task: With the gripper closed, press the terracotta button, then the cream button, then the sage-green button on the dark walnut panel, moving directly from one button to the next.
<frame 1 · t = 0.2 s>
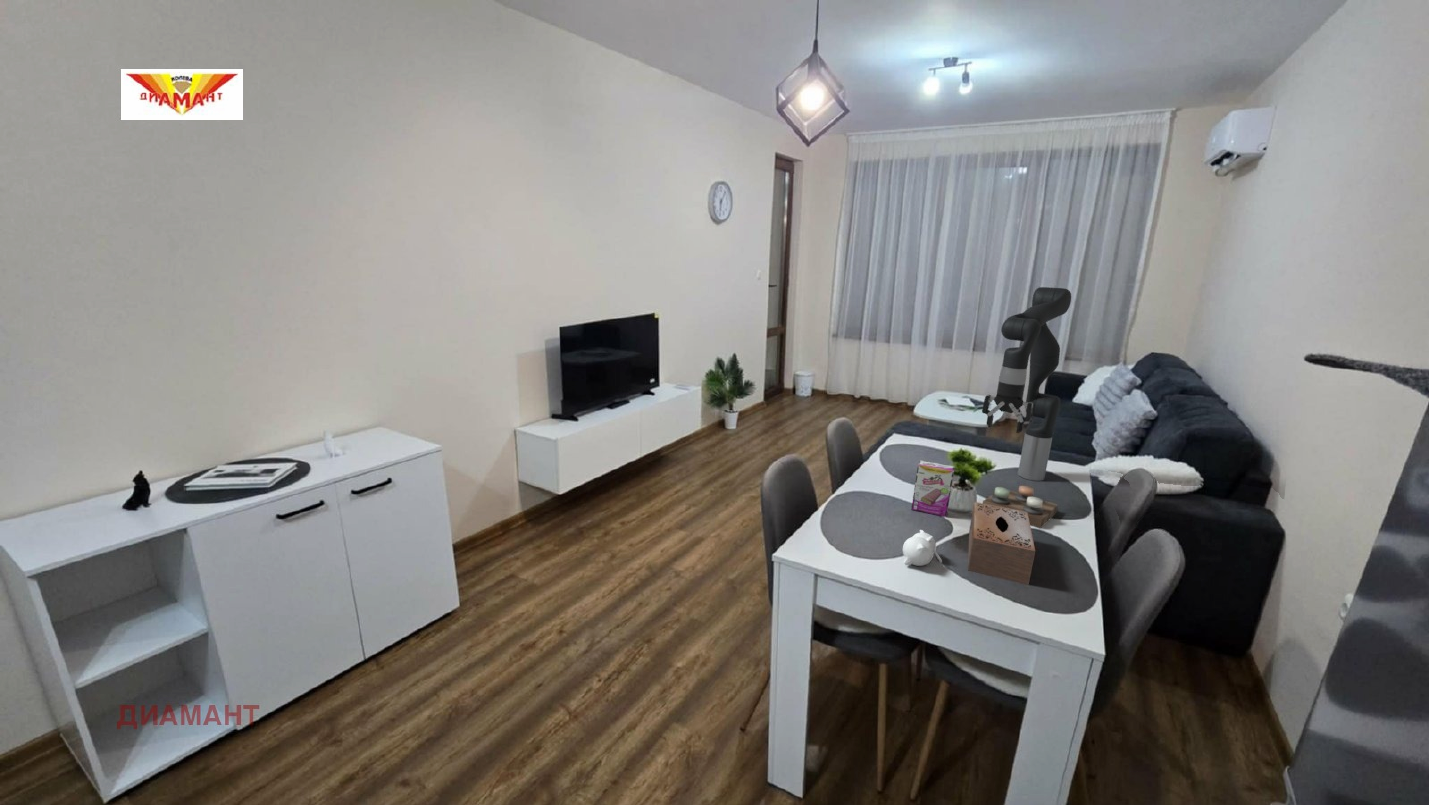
hand: (1003, 429, 182), 28 cm above the table, tool pointing down, fingers open, 8 cm apart
candy bar box: (929, 511, 186), on the table
cat figurine: (921, 562, 155), on the table
terracotta button: (1026, 490, 190), point 6 cm above the table, slide at 0.0 cm
tissue box cover: (996, 556, 159), on the table
cream button: (1034, 502, 181), point 6 cm above the table, slide at 0.0 cm
walnut button panel: (1018, 511, 188), on the table
sage-green button: (1002, 492, 188), point 6 cm above the table, slide at 0.0 cm
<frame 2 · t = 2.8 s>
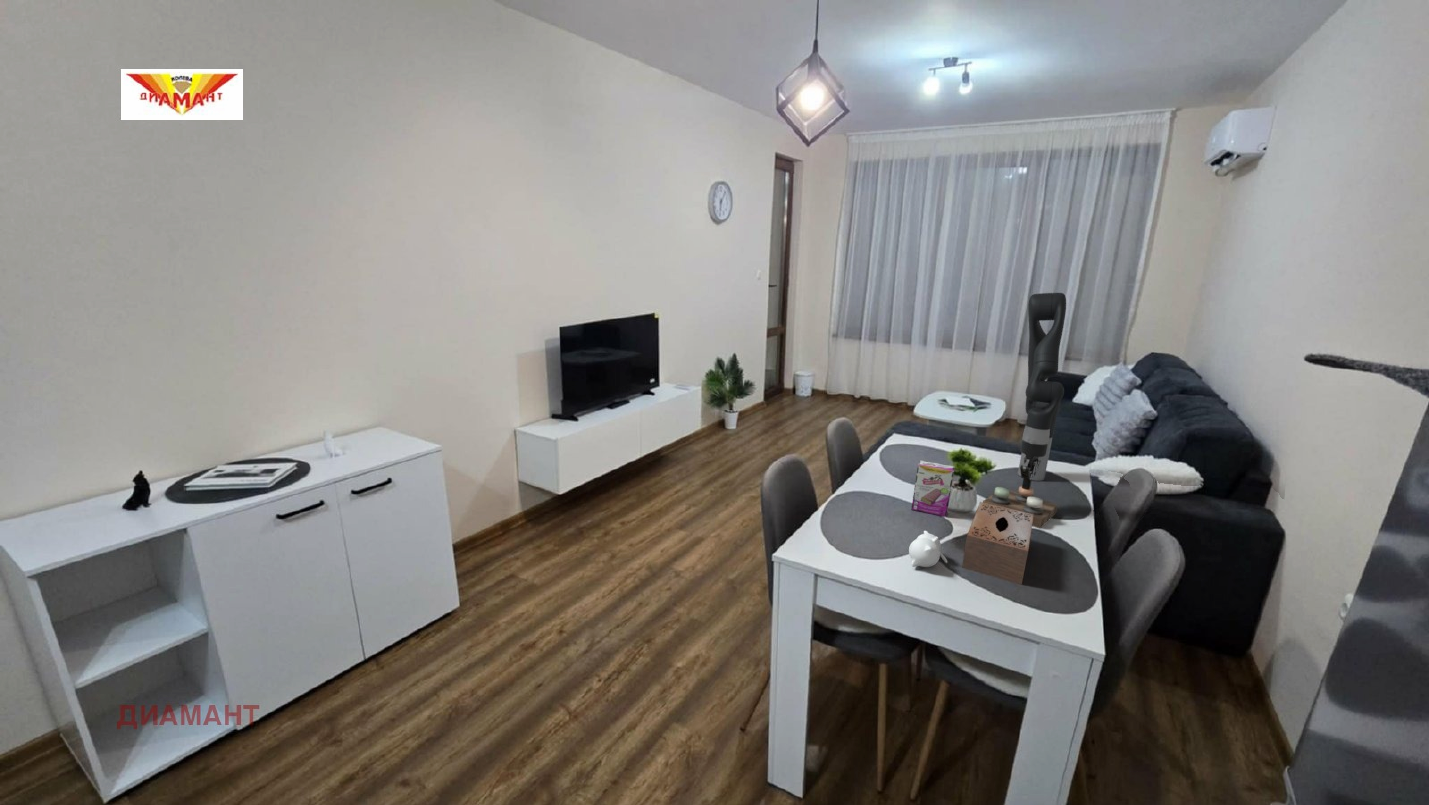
hand: (1025, 488, 189), 7 cm above the table, tool pointing down, fingers closed
cat figurine: (927, 563, 154), on the table
terracotta button: (1026, 491, 190), point 6 cm above the table, slide at 0.2 cm, touching gripper
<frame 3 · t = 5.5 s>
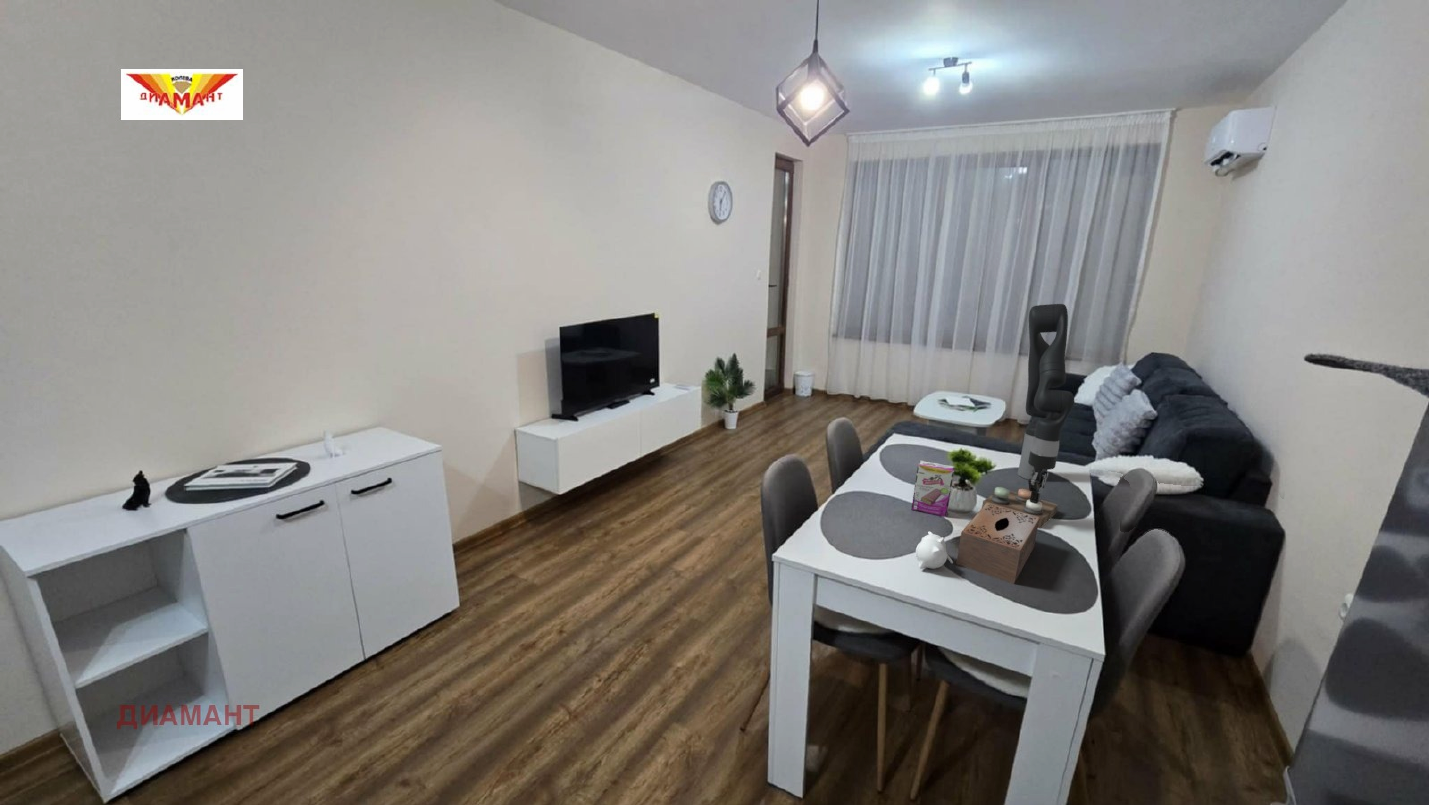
hand: (1033, 502, 181), 6 cm above the table, tool pointing down, fingers closed
cat figurine: (933, 564, 154), on the table
terracotta button: (1025, 494, 190), point 5 cm above the table, slide at 1.2 cm, touching walnut button panel
cream button: (1033, 505, 181), point 5 cm above the table, slide at 1.0 cm, touching gripper
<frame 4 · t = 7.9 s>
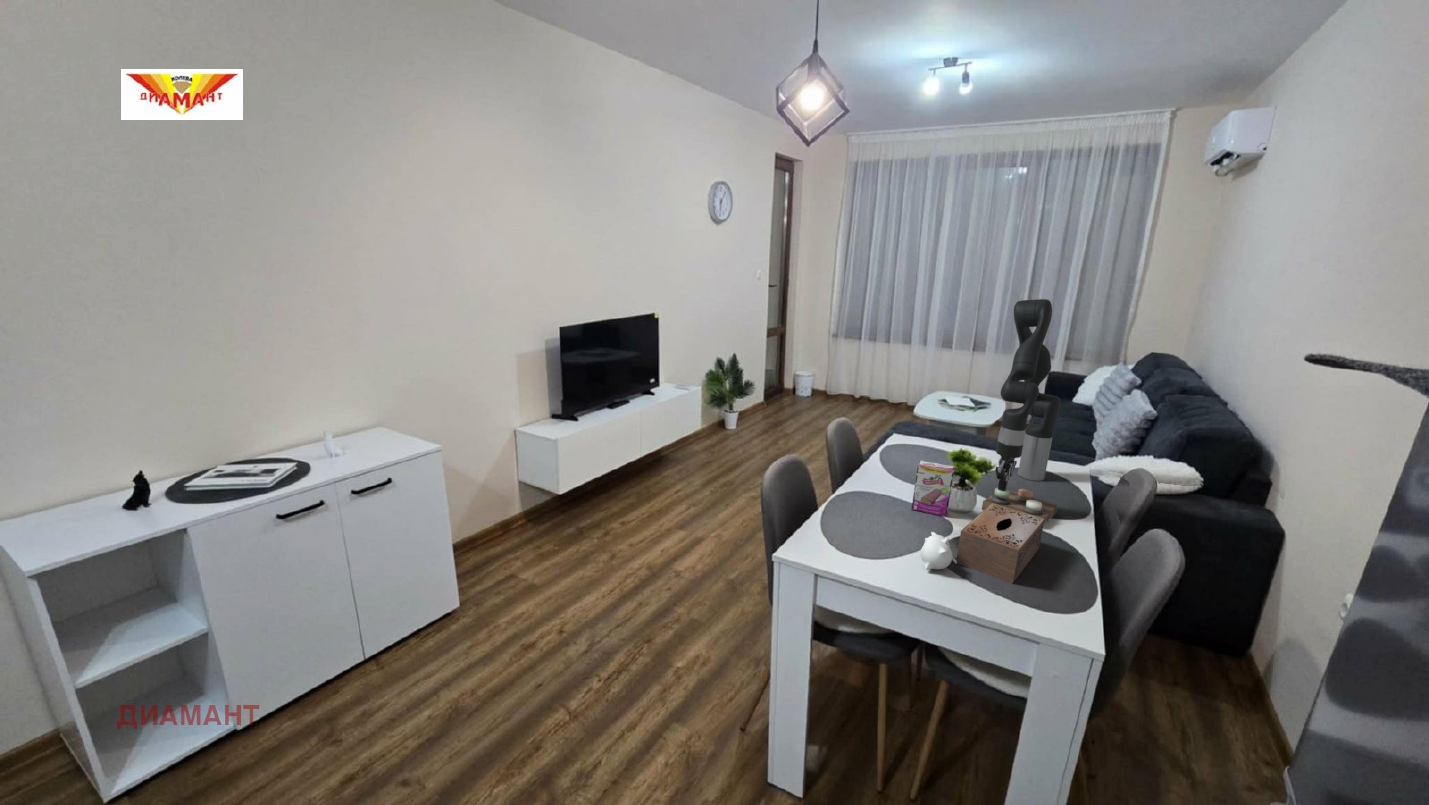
hand: (1001, 490, 187), 7 cm above the table, tool pointing down, fingers closed
cat figurine: (937, 565, 153), on the table
cream button: (1033, 505, 181), point 5 cm above the table, slide at 1.1 cm
sage-green button: (1001, 492, 188), point 6 cm above the table, slide at 0.2 cm, touching gripper
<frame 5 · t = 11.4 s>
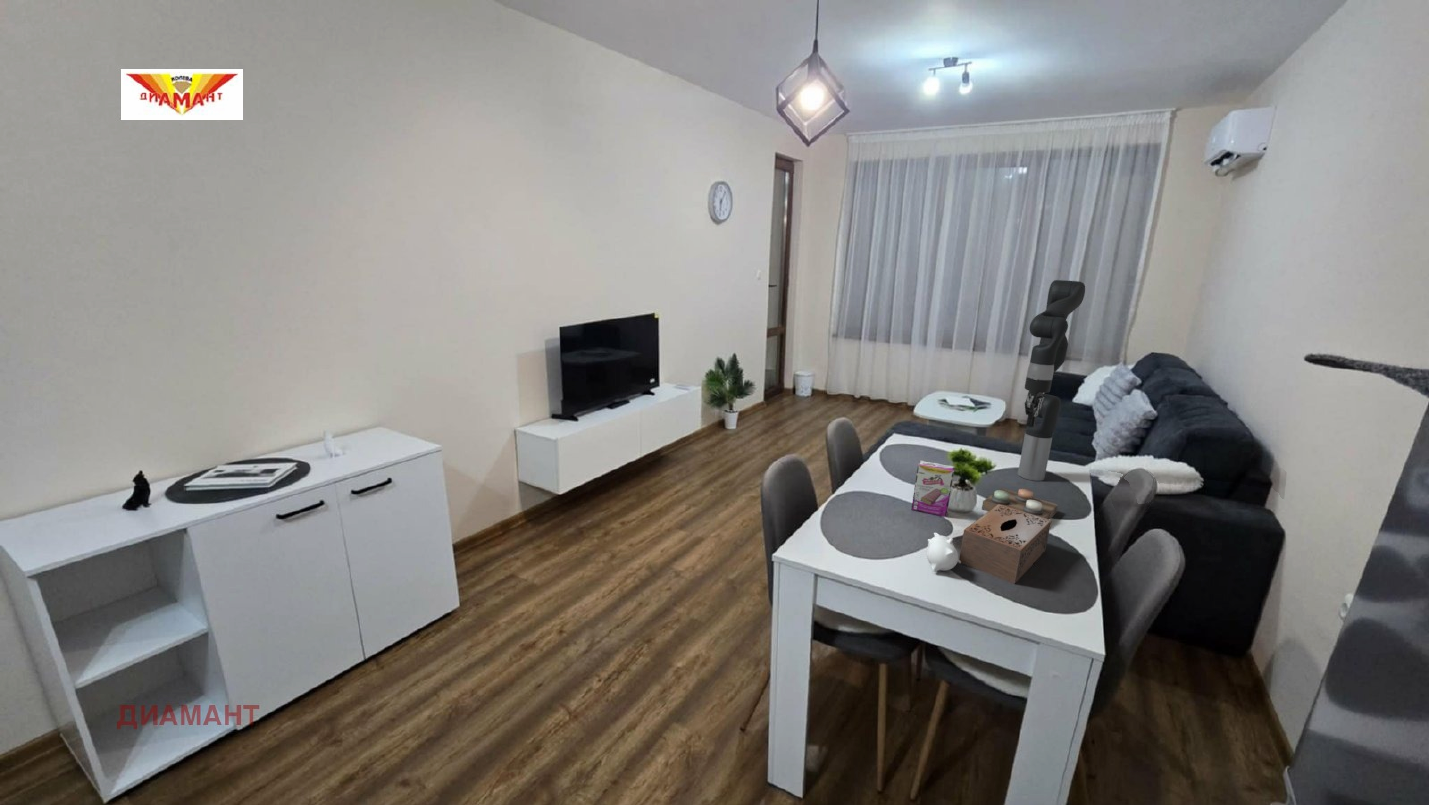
hand: (1030, 426, 191), 27 cm above the table, tool pointing down, fingers closed
cat figurine: (942, 566, 153), on the table
tissue box cover: (1002, 557, 159), on the table
sage-green button: (1001, 495, 188), point 5 cm above the table, slide at 1.2 cm
everything else where it was.
at the end: terracotta button slide at 1.2 cm; cream button slide at 1.1 cm; sage-green button slide at 1.2 cm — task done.
